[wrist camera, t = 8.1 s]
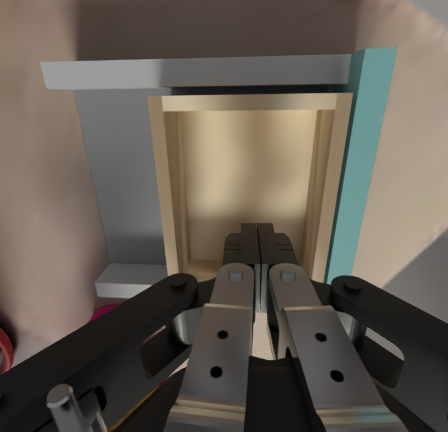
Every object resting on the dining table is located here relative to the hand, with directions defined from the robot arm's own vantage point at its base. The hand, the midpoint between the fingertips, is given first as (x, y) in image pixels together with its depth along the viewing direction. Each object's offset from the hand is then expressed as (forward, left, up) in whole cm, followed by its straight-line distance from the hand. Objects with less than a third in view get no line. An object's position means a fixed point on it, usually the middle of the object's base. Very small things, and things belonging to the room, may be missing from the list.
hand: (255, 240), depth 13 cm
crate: (-1, -1, -9) cm, 9 cm away
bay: (-3, -1, -10) cm, 11 cm away
